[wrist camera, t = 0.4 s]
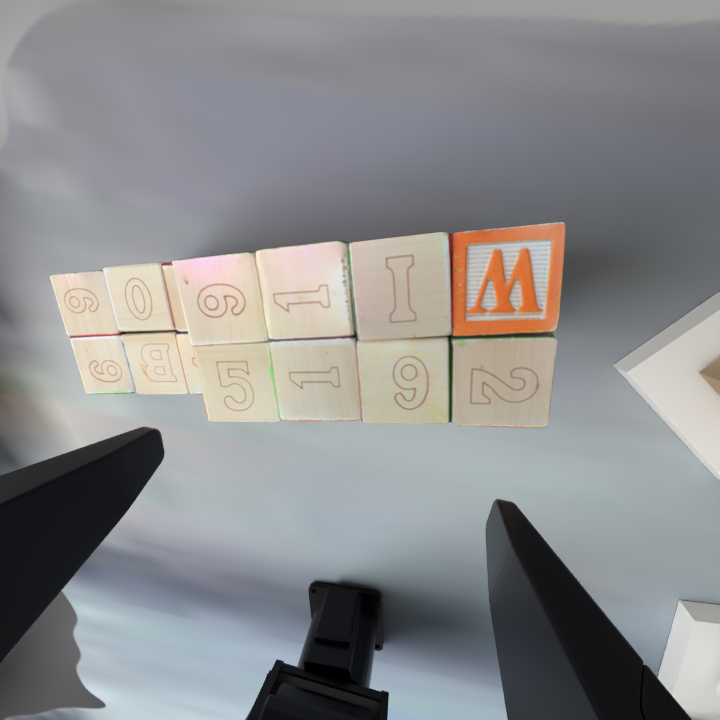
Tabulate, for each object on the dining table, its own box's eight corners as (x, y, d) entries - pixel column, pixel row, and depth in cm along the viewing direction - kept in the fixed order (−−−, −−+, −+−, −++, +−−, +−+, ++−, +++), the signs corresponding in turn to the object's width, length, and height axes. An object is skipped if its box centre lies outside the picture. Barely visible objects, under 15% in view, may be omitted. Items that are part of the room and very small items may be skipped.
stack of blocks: (196, 350, 26) (16, 420, 15) (179, 266, 25) (-40, 271, 13) (486, 343, 22) (554, 434, 11) (490, 242, 21) (575, 219, 9)
